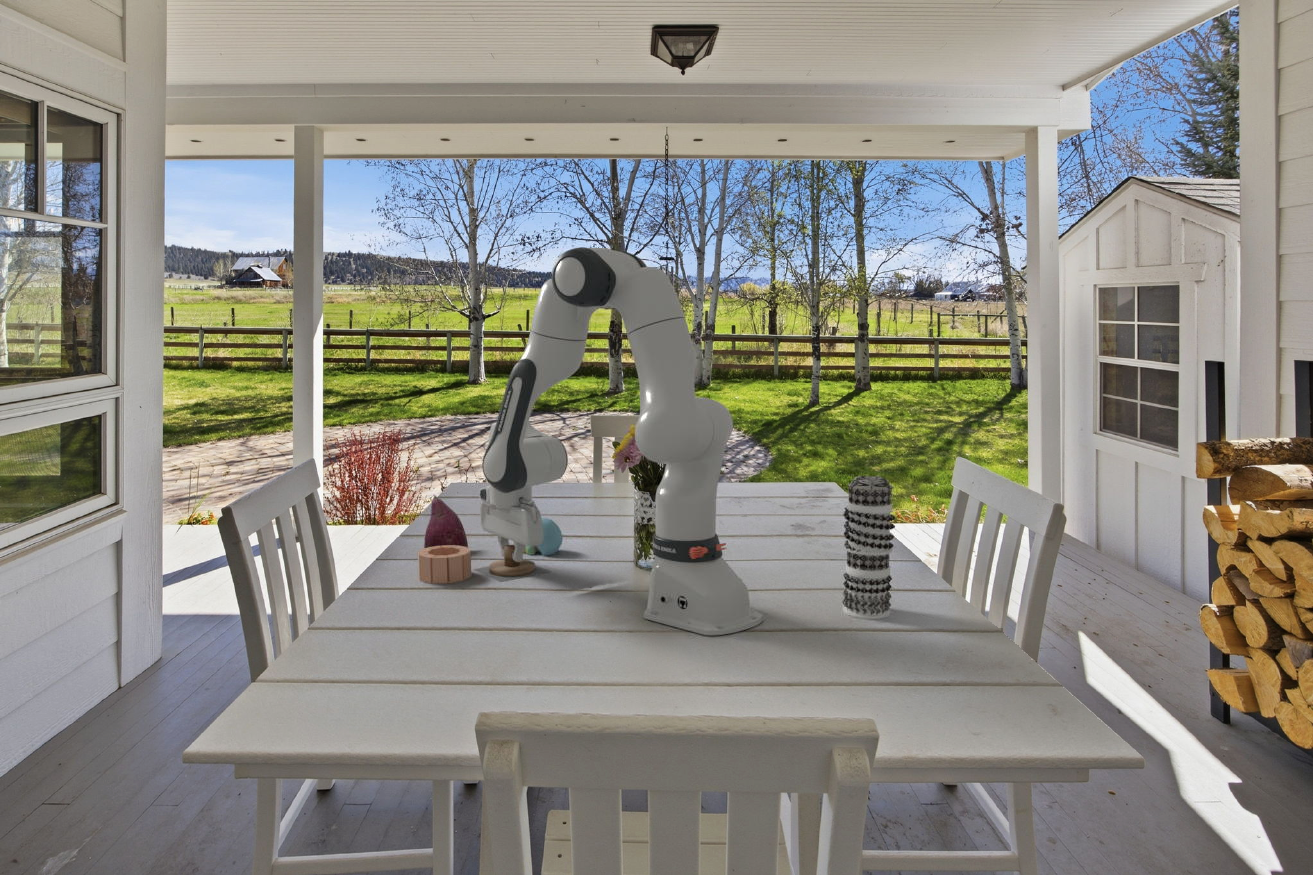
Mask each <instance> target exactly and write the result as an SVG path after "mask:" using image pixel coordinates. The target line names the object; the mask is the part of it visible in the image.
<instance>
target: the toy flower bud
mask: <svg viewBox="0 0 1313 875" xmlns="http://www.w3.org/2000/svg"><path fill="white" fill-rule="evenodd" d="M541 518H542V527H543V541H542V543H541V544H540V545H535V546H526V547H525V550H524V552H523V554H526V555H527V556H534V555H536V553H537V552H540V553H541V555H542V556H552V555H555V554H556V553H557V552H558V551H559V549H560V548H561V546H562V543H563V538H564V537H563V534H562V533H563V532H562V530H561V529H560V528H561V527H559V526H558V524H557V523H556V522H555V521H554V520H552V519H549V518H547V517H541Z"/></svg>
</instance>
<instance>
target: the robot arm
mask: <svg viewBox="0 0 1313 875" xmlns="http://www.w3.org/2000/svg"><path fill="white" fill-rule="evenodd" d="M599 309H602V310H613V309H614V310H615V309H616V310H617V311H618V312H619V314H620V316H621V319H622V322H623V325H624V329H625V332H626V336H627V341H628V342H629V347H630V351H631V354H632V358H633V361H634V364H635V368H636V372H637V377H638V384H639V385H638V386H639V405H640V406H639V408H640V409H639V416H638V419H637V421H636V425H635V427H634V428H635V429H634V439H635V440H634V441H635V445H636V447H637V448H638V451H639V452H640V454H642V455H643V457H645V459H647V460H649V461H651V462H652V463H658V464H662V465H663V464H664V465H665V468H664V472H663V476H662V479H661V481H660V483H659V485H658V486H657V489H656V493H655V533H653V535H652V536H653V537H652V539H653V540H652V553H653V555H654V561H653V564H652V565H653V566H652V569H651V571H650V576H649V578H650V579H649V587H648V588H649V589H648V597H647V604H646V609H644V611H643V619H645V620H649V621H653V622H656V623H659V624H664V625H667V626H671V627H674V628H677V629H682V630H686V631H689V632H692V633H697V634H700V635H704V636H722V635H727V634H734V633H737V632H741V631H744V630H745V631H746V630H747V629H750V628H755V627H756V626H758V625H759V624H761V623H762V622H763V621H764V616H763V614H762V613H760V612H759V611H756V610H754V609H753V608H751V606H750V595H749V589H748V587H747V585H746V583H745V582H743V578H742V579H741V577H739V576H738V574H736V572H735V570H733V569H732V567H731V566H730V565H729V564H728V563H727V561H726V560H725V558H724V557H723V556H724V555H723V550H727V547H724V546H726V545H727V543H726V542H724V543H720V538H719V536H718V534H717V533H716V531H717V529H716V526H717V522H716V520H717V519H716V518H717V514H716V513H717V493H718V486H719V479H720V474H721V471H722V466H723V461H724V457H725V456H724V455H725V451H726V447H727V444H728V442H729V440H730V438H731V435H732V433H733V429H734V421H733V417H732V414H731V412H730V410H729V409H728V408H727V407H726V406H725V405H724V404H722V403H721V402H720V401H717V400H714V399H711V398H708V397H702V396H699V397H696V391H695V389H696V388H695V370H696V366H697V362H698V359H697V354H696V351H695V347H694V344H693V341H692V340H693V339H692V337H691V333H690V330H689V326H688V324H687V323H688V322H687V319H686V317H685V312H684V310H683V307H682V304H681V302H680V299H679V297H678V294H677V292H676V289H675V288H674V286H673V284H672V281H671V280H670V278H669V275H667V273H666V272H665V271H663V270H662V269H661V268H657V267H654V266H647V264H646V263H645V261H644V260H642V259H641V258H640V257H639V256H637V255H635V254H633V253H631V252H628V251H619V250H613V249H610V248H606V247H584V246H583V247H575V248H571V249H568V250H567V251H564V252H563V253H561V254H560V255H559V256H558V257H557V259H556V260H555V262H554V264H553V267H552V271H551V278H549V279H548V280H546V281H545V282H544V283H543V285H542V286H541V288H540V290H539V294H538V297H537V300H536V303H535V306H534V311H533V314H532V315H533V316H532V320H531V325H530V331H529V332H530V333H529V336H528V341H527V343H526V346H525V348H524V351H523V353H522V356H521V357H520V358H519V360H518V362H517V363H516V364H514V366H513V368H512V370H511V372H510V374H509V377H508V379H507V384H506V387H505V390H504V394H503V397H502V401H501V404H500V408H499V412H498V415H497V419H496V420H495V422H493V423H492V424H491V426H490V430H489V434H488V444H487V447H486V449H485V451H484V455H483V457H482V463H481V465H482V466H481V467H482V468H481V469H482V472H483V476H484V478H485V479H486V481H487V482H488V485H487V486H484V487H481V488H480V489H478V498H479V499H480V500H481V501H480V505H479V506H480V507H479V508H480V510H479V513H480V524H481V528H482V529H483V531H484V532H487V533H490V534H492V535H495V536H497V542H498V544H499V546H500V553H501V557H503V558H504V546H506V545H510V542H509V541H511V542H513V545H514V546H515V551H514V553H512V560H513V561H515V562H521V561H522V560H524V553H523V552H524V550H525V547H526V546H535V545H540V544H541V543H542V541H543V527H542V518H543V517H542V513H541V512H540V510H539V508H538V507H537V505H536V503H535V501H534V500H533V487H534V486H539V485H543V484H548V483H552V482H554V481H557V480H559V479H561V478H562V477H563V476H564V475H565V472H566V471H567V468H568V464H569V463H568V462H569V460H568V459H569V458H568V452H567V451H568V450H567V449H566V447H565V445H564V444H563V442H562V441H561V440H560V439H558V438H557V437H555V436H550V435H548V434H546V433H544V432H542V431H540V430H538V429H537V428H535V427H534V426H533V425H532V424H531V422H530V418H531V414H532V411H533V408H534V405H535V403H536V401H537V400H538V399H539V397H541V395H542V394H544V393H545V392H546V391H547V390H549V389H550V388H552V387H553V386H555V385H557V384H558V383H559V384H560V383H561V382H562V381H566V380H567V379H568V378H570V377H572V375H574V374H575V373H576V372H577V371H578V370H579V368H580V366H581V364H582V361H583V360H584V359H583V358H584V356H585V352H586V346H587V338H588V332H589V327H590V326H589V324H590V321H591V318H592V315H593V314H594V313H595V312H597V310H599Z"/></svg>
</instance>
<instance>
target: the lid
mask: <svg viewBox="0 0 1313 875" xmlns="http://www.w3.org/2000/svg"><path fill="white" fill-rule="evenodd" d="M514 551H515V546H514V544H509V545H506V546H504V557H503V559H502V560H497V561H494V562H491V563H490V564H489V565H488V566H489V572H490V574H492V575H496V576H502V577H515V576H523V575H527V574H531V573H533V572H534V571H535V565H536V563H535V562H534V561H532V560H528V559H523V560H522V561H521V562H515V561H513V560H512V553H514Z"/></svg>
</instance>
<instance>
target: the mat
mask: <svg viewBox="0 0 1313 875" xmlns="http://www.w3.org/2000/svg"><path fill="white" fill-rule="evenodd" d="M473 571H476V572H478V573H480V574H482V575H484V576H487V577H489V578H490V579H493V580H496V581H498V582H501V583H502V582H507V581H513V580H517V579H522V578H523V579H524V578H528V577H532V576H538V575H544V574H548V573H552V571H551V570H548V569H545V567H544V568H543V567H540V566H538V565H536V564H535V571H534V572H533V573H531V574H527V575H523V576H515V577H502V576H496V575H492V574H490V572H489V565H488V566H483V567H479V568H473Z"/></svg>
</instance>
